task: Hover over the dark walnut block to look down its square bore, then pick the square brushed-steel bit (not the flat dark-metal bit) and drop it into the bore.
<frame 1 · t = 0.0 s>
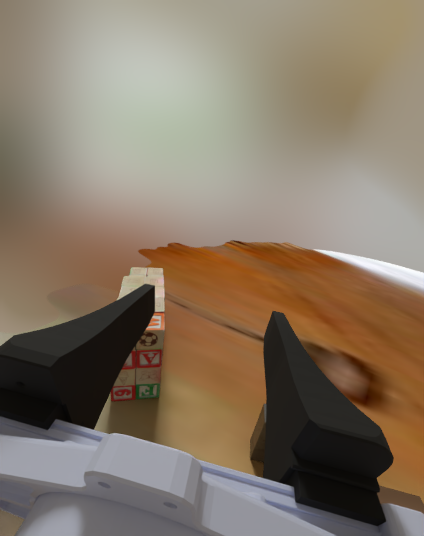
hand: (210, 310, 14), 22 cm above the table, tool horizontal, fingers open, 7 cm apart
stack of blocks: (142, 342, 39), on the table
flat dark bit: (275, 456, 26), on the table
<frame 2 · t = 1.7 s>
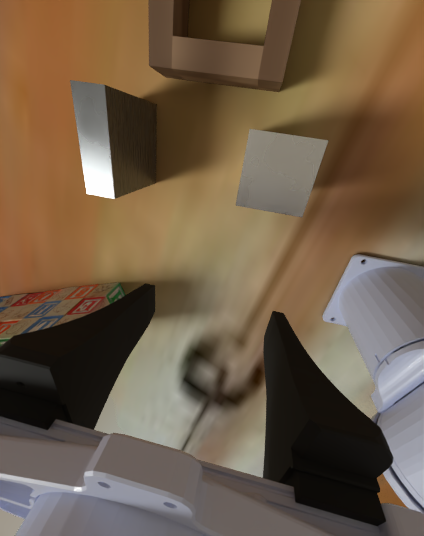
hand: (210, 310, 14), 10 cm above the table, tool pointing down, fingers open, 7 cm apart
stack of blocks: (67, 306, 32), on the table
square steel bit: (271, 165, 19), on the table
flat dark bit: (145, 145, 20), on the table
walnut bore block: (231, 0, 14), on the table
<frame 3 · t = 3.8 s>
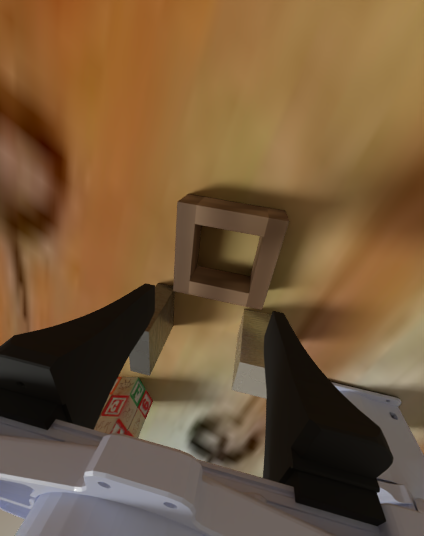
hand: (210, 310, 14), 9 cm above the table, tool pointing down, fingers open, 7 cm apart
stack of blocks: (94, 387, 39), on the table
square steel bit: (258, 326, 26), on the table
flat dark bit: (165, 305, 27), on the table
walnut bore block: (227, 246, 22), on the table
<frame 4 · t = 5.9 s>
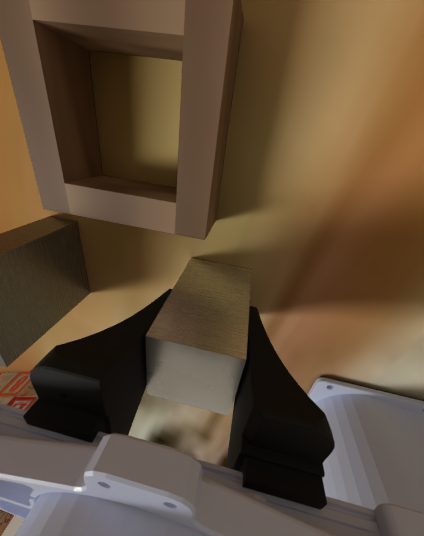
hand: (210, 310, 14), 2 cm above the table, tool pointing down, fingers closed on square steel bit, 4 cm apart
stack of blocks: (13, 386, 29), on the table
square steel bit: (216, 288, 16), on the table, touching gripper
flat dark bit: (72, 257, 17), on the table
walnut bore block: (145, 127, 12), on the table
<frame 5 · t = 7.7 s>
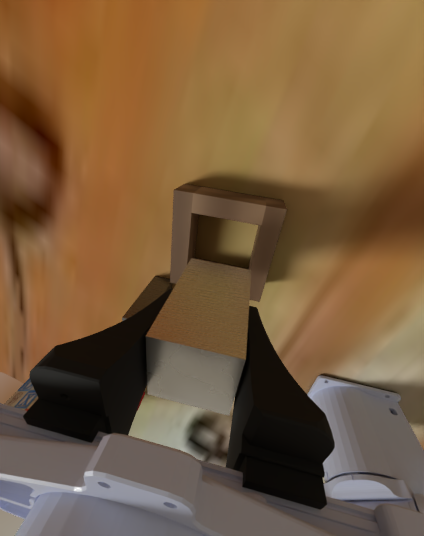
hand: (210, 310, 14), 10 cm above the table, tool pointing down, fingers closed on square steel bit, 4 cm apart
stack of blocks: (87, 381, 39), on the table
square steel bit: (216, 288, 16), point 7 cm above the table, touching gripper
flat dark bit: (163, 298, 26), on the table
walnut bore block: (225, 237, 21), on the table
when the fingers open (4 cm above the table, at t = 9.9 s): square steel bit drops 1 cm, resting in walnut bore block.
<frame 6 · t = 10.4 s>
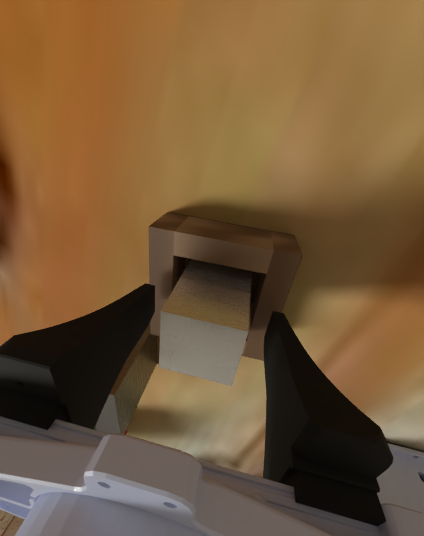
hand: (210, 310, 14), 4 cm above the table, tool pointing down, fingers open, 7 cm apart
stack of blocks: (64, 418, 35), on the table
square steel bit: (220, 277, 17), resting in walnut bore block
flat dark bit: (147, 341, 22), on the table
walnut bore block: (220, 277, 17), on the table
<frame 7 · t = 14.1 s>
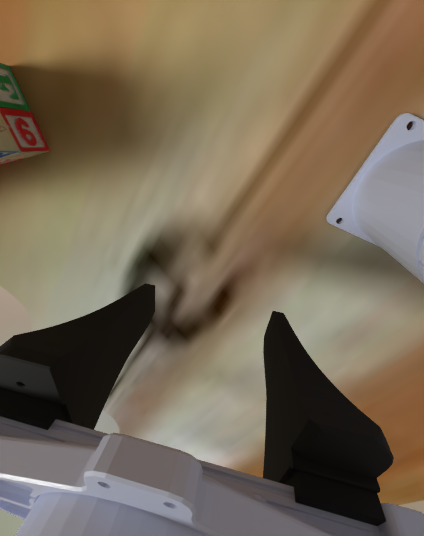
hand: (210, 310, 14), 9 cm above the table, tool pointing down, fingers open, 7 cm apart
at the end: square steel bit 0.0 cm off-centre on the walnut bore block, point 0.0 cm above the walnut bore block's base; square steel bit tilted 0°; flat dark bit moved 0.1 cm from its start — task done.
